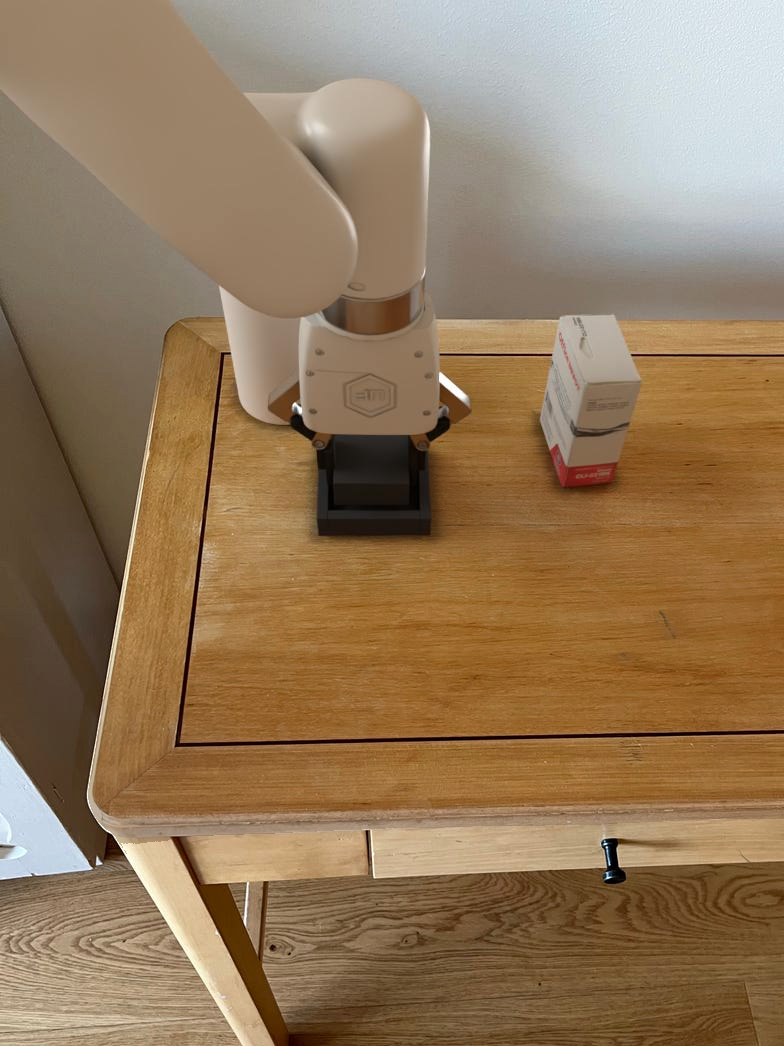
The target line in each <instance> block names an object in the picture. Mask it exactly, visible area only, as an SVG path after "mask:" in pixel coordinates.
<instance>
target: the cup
mask: <svg viewBox="0 0 784 1046" xmlns="http://www.w3.org/2000/svg"><path fill="white" fill-rule="evenodd" d="M218 287H219V288H218V289H219V293H220V294H219V295H220V298H221V299H220V300H221V305H222V309H223V310H222V311H223V316H224V321H225V327H226V333H227V338H228V344H229V350H230V355H231V360H232V366H233V371H234V377H235V382H236V383H235V384H236V389H237V394H238V399H239V402H240V404H241V406H242V408H243V409H244V411H246V412H247V414H248V415H250V416H251V417H252V418H254V419H256V420H258V421H261V422H263V423H266V424H271V425H276V426H277V425H278V426H279V425H280V426H289V425H290V423H289V422H287V421H286V422H285V421H283V420H282V419H280V418H279V417H277V416H276V415H274V414H273V413H271V412H270V411H269V410H268V398H269V394H270V393H271V392H273V391H274V390H275V389H276V388H277V387H279V386H280V385H281V384H282V383H283V382H284V381H286V380H287V379H288V378H289V377H290V376H292V375H293V374H294V373H295V372H296V371H298V370H299V328H300V320H301V318H294V319H290V318H277V317H272V316H268V315H265V314H263V313H260V312H257V311H255V310H253V309H251V308H249V307H248V306H246V305H244V304H243V303H242V302H240V301H239V300H238V299H236V298H235V297H234V296H232V295H231V294H230V293H228V292H227V291H226V290H225V289H223V288H222V287H221V286H220V285H218ZM296 404H301V400H300V399H299V400H298V401H296ZM313 410H314V409H313ZM313 410H312V411H313Z"/></svg>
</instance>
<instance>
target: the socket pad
mask: <svg viewBox="0 0 784 1046" xmlns="http://www.w3.org/2000/svg"><path fill="white" fill-rule="evenodd" d="M429 463H430V462H429V449H428V450H426V457H425V471H424V470H417V479H416V485H410V484H409V505H335V501H334V487H333V485H327V477H326V470H318V469H317V470H318V471H317V497H316V500H317V501H316V525H317V535H318V537H354V536H355V537H363V536H364V537H376V536H377V537H378V536H380V537H381V536H383V537H385V536H386V537H388V536H389V537H391V536H392V537H395V536H396V537H399V536H400V537H402V536H403V537H404V536H405V537H407V536H408V537H409V536H410V537H411V536H413V537H414V536H415V537H417V536H418V537H421V536H426V537H427V536H429V537H430V536H431V532H432V531H431V529H432V507H431V506H432V503H431V485H430V483H431V482H430V464H429Z"/></svg>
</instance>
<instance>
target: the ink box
mask: <svg viewBox="0 0 784 1046" xmlns="http://www.w3.org/2000/svg"><path fill="white" fill-rule="evenodd" d="M556 329H557V331H556V334H555V339H554V346H553V350H552V354H551V361H550V365H549V371H548V375H547V382H546V387H545V391H544V396H543V401H542V406H541V407H542V408H541V412H540V417H539V422H540V425H541V427H542V431H543V434H544V438H545V440H546V443H547V447H548V450H549V452H550V456H551V459H552V463H553V466H554V469H555V472H556V475H557V478H558V481H559V484H560V487H562V488H568V487H580V486H581V487H582V486H593V485H601V484H609V483H613V479H614V476H615V473H616V470H617V466H618V464H619V460H620V457H621V453H622V449H623V446H624V443H625V441H626V438H627V437H626V436H627V433H628V430H629V427H630V424H631V420H632V417H633V414H634V411H635V408H636V404H637V402H638V398H639V394H640V391H641V388H642V384H643V381H642V379H641V378H642V377H641V375H640V373H639V371H638V369H637V366H636V364H635V361H634V359H633V356H632V354H631V352H630V349H629V347H628V345H627V342H626V340H625V338H624V337H625V336H624V335H623V332H622V330H621V328H620V325H619V322H618V320H617V318H616V316H615V313H595V314H594V313H587V314H585V313H584V314H565V315H564V314H563V315H561V316H560V317H559V320H558V324H557V328H556Z"/></svg>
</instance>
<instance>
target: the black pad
mask: <svg viewBox="0 0 784 1046" xmlns="http://www.w3.org/2000/svg"><path fill="white" fill-rule="evenodd" d="M333 487H334V501H335V505H409V470H408V453H407V435H353V434H335V469H334V474H333Z"/></svg>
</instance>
